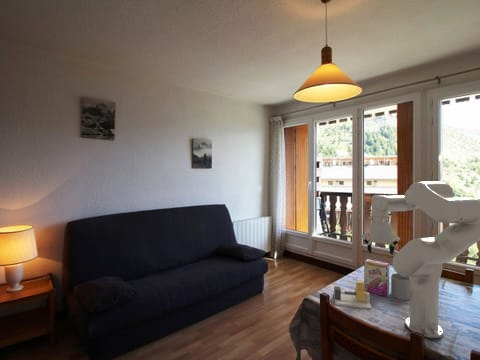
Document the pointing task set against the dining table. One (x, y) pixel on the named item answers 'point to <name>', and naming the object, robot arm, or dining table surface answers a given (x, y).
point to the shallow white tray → (350, 299)
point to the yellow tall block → (360, 291)
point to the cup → (400, 287)
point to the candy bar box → (376, 277)
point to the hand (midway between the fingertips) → (380, 253)
